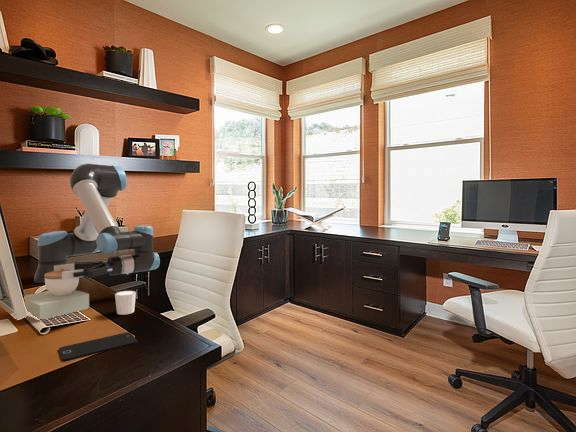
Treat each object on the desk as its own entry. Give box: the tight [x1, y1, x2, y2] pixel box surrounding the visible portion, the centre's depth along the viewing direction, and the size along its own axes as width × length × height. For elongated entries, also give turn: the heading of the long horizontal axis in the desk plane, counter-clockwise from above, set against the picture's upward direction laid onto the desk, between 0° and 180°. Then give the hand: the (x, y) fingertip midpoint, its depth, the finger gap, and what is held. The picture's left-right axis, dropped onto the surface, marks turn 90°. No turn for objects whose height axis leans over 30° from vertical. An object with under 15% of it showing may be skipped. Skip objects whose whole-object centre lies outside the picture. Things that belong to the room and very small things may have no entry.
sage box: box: [23, 289, 90, 319], centre depth 121 cm, size 16×16×6 cm
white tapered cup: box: [114, 290, 137, 316], centre depth 121 cm, size 7×7×7 cm
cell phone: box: [58, 331, 139, 362], centre depth 94 cm, size 9×18×1 cm, turn 130°
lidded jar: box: [44, 268, 80, 296], centre depth 123 cm, size 11×11×9 cm
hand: (57, 272), depth 122 cm, fingers open, 13 cm apart
